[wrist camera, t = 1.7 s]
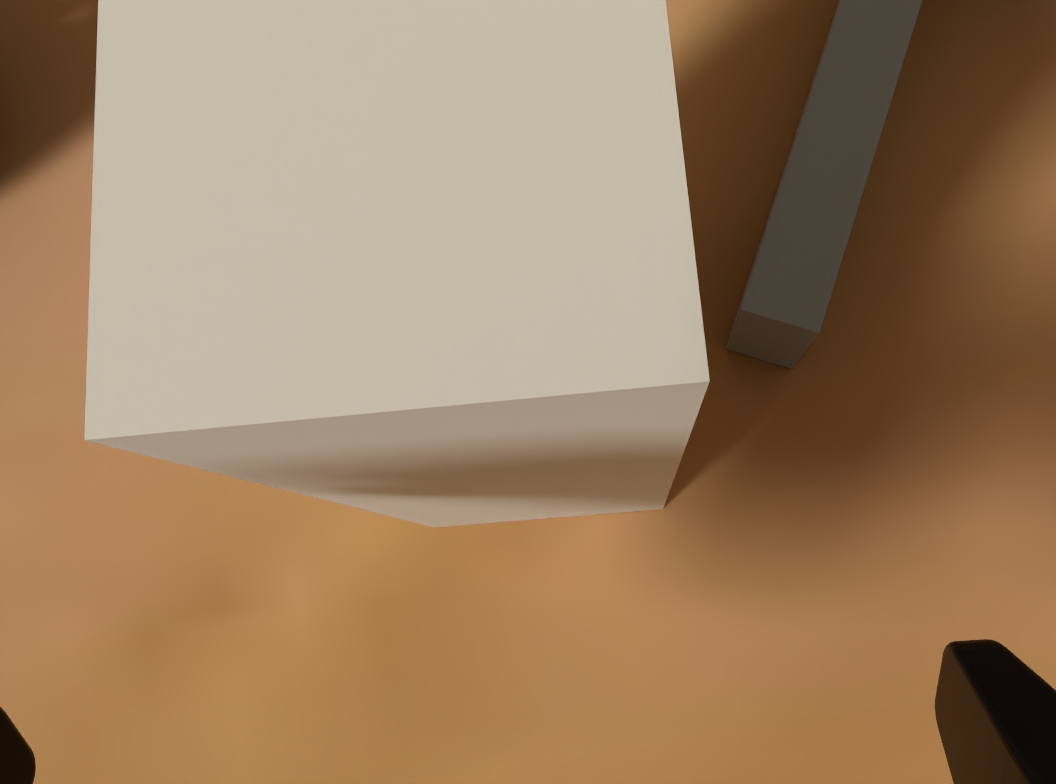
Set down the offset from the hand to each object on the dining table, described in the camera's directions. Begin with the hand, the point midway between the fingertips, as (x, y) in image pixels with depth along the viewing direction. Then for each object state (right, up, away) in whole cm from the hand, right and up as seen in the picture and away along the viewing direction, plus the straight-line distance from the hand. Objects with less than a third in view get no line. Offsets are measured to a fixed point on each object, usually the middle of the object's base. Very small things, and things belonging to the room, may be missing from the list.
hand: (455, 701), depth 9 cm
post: (+1, +3, +12) cm, 12 cm away
